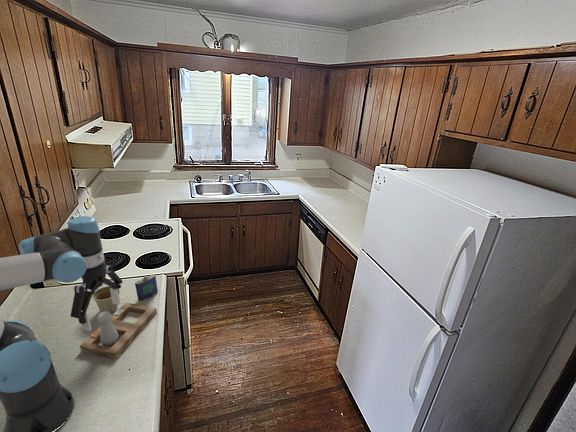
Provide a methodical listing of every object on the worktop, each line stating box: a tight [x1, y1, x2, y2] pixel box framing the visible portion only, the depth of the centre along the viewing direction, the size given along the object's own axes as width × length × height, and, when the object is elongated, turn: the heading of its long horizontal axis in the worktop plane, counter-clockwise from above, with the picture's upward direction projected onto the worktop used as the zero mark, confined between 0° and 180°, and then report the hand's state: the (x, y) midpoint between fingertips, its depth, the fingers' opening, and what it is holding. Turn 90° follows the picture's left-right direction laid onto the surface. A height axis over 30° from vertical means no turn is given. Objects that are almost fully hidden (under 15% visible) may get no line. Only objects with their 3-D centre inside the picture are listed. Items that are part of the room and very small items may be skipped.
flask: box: [134, 274, 159, 302], centre depth 134 cm, size 9×3×11 cm, turn 144°
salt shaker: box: [96, 311, 120, 347], centre depth 109 cm, size 6×6×13 cm
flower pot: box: [91, 285, 118, 314], centre depth 125 cm, size 9×9×9 cm
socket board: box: [79, 302, 158, 359], centre depth 116 cm, size 24×14×3 cm, turn 169°
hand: (102, 315), depth 106 cm, fingers open, 13 cm apart
